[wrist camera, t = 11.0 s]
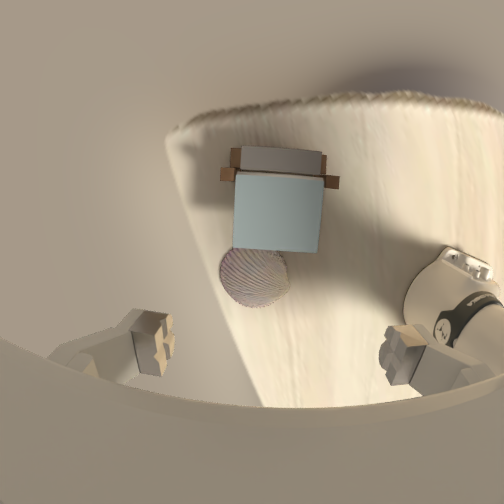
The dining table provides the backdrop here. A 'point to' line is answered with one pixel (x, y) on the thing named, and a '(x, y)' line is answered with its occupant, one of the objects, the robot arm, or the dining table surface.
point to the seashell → (254, 276)
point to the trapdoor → (278, 200)
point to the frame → (235, 163)
